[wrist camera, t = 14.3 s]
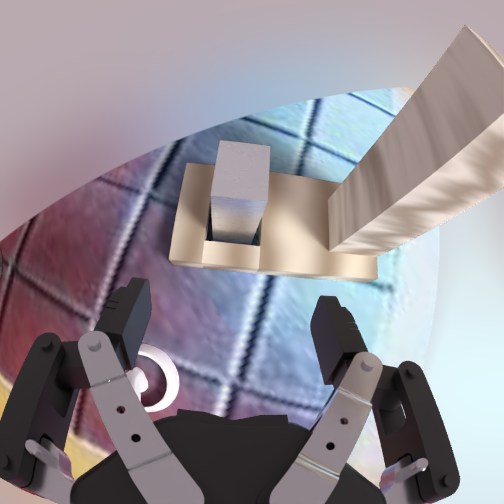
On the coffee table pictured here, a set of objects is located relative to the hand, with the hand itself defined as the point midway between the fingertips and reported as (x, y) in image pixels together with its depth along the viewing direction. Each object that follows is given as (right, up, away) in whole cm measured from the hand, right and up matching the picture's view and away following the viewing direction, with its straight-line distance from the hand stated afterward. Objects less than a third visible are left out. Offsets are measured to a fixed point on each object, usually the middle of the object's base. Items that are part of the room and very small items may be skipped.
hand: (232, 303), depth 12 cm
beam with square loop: (+4, +5, +18) cm, 19 cm away
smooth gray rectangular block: (-1, +6, +18) cm, 19 cm away
